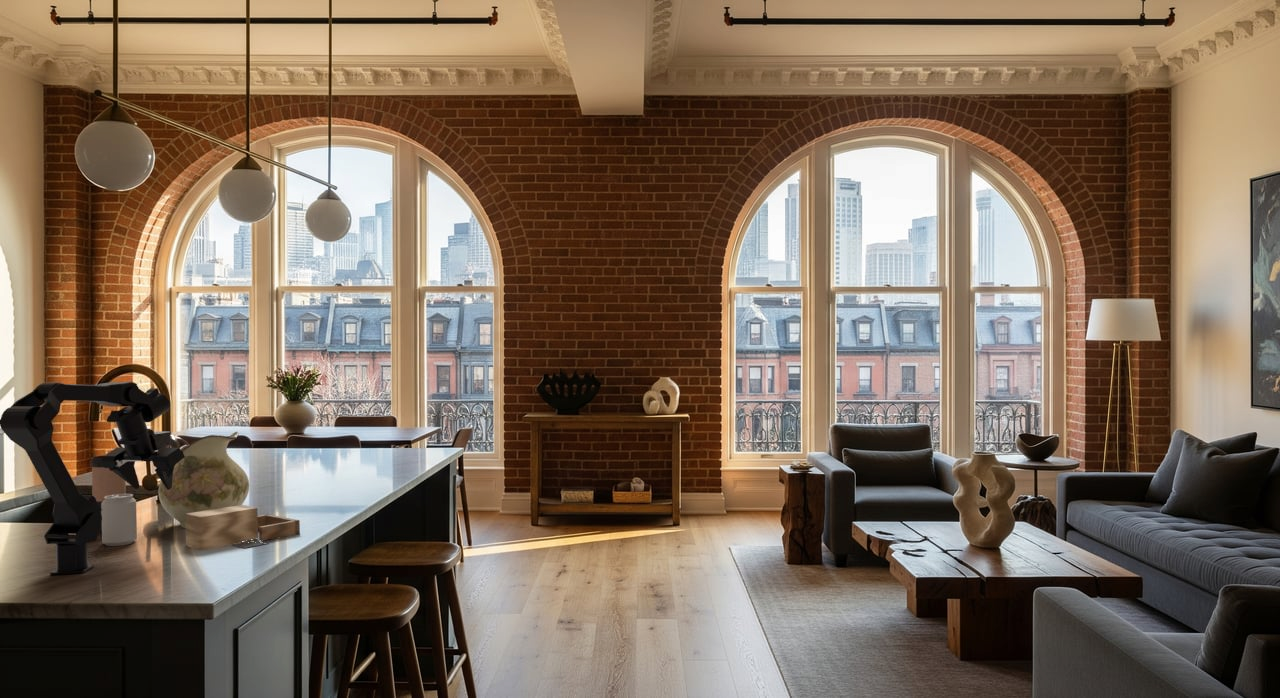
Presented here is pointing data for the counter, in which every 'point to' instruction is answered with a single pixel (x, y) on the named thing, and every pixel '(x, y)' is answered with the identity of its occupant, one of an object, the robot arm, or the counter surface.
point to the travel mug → (105, 482)
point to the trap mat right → (248, 544)
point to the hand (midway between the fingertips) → (153, 488)
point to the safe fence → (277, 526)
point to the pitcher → (203, 478)
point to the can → (119, 520)
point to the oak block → (221, 526)
